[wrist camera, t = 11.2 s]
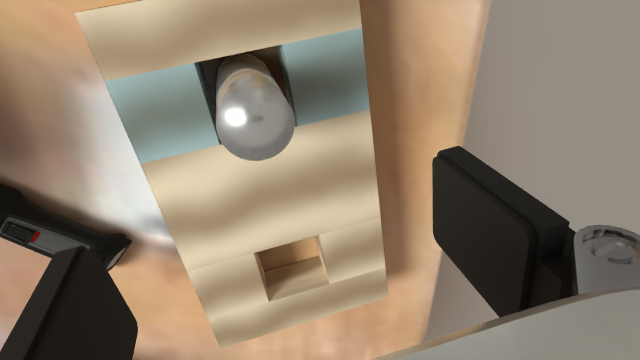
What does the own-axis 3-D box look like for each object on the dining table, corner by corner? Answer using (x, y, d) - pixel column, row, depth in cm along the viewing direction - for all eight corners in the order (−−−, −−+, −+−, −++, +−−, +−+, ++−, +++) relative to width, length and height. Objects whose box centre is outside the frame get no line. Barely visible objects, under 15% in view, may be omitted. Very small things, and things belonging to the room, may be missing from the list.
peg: (209, 60, 27) (205, 96, 19) (264, 48, 28) (286, 78, 19) (225, 113, 29) (228, 168, 20) (276, 101, 30) (301, 150, 21)
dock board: (94, 8, 24) (74, 13, 21) (337, -36, 26) (355, -39, 23) (220, 315, 38) (220, 348, 34) (373, 269, 40) (388, 297, 36)
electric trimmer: (-88, 132, 25) (-126, 150, 23) (136, 235, 32) (128, 258, 30) (-110, 175, 26) (-149, 197, 24) (113, 266, 33) (103, 292, 30)
